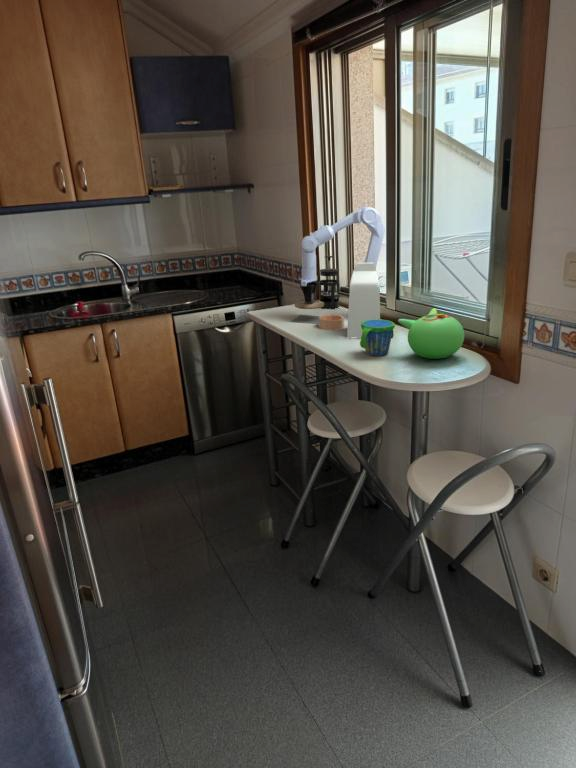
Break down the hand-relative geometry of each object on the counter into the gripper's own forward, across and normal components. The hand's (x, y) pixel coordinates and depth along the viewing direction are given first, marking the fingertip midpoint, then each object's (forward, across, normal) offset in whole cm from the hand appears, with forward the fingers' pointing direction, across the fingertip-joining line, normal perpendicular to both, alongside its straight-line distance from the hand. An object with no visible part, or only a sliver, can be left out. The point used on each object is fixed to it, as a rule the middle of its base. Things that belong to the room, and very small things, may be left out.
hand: (309, 300), depth 220 cm
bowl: (+8, +9, +12) cm, 17 cm away
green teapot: (+8, +36, +54) cm, 65 cm away
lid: (+2, 0, 0) cm, 2 cm away
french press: (+8, -26, 0) cm, 27 cm away
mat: (+8, 0, 0) cm, 8 cm away
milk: (+8, +14, +26) cm, 31 cm away
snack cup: (+8, +37, +36) cm, 52 cm away
